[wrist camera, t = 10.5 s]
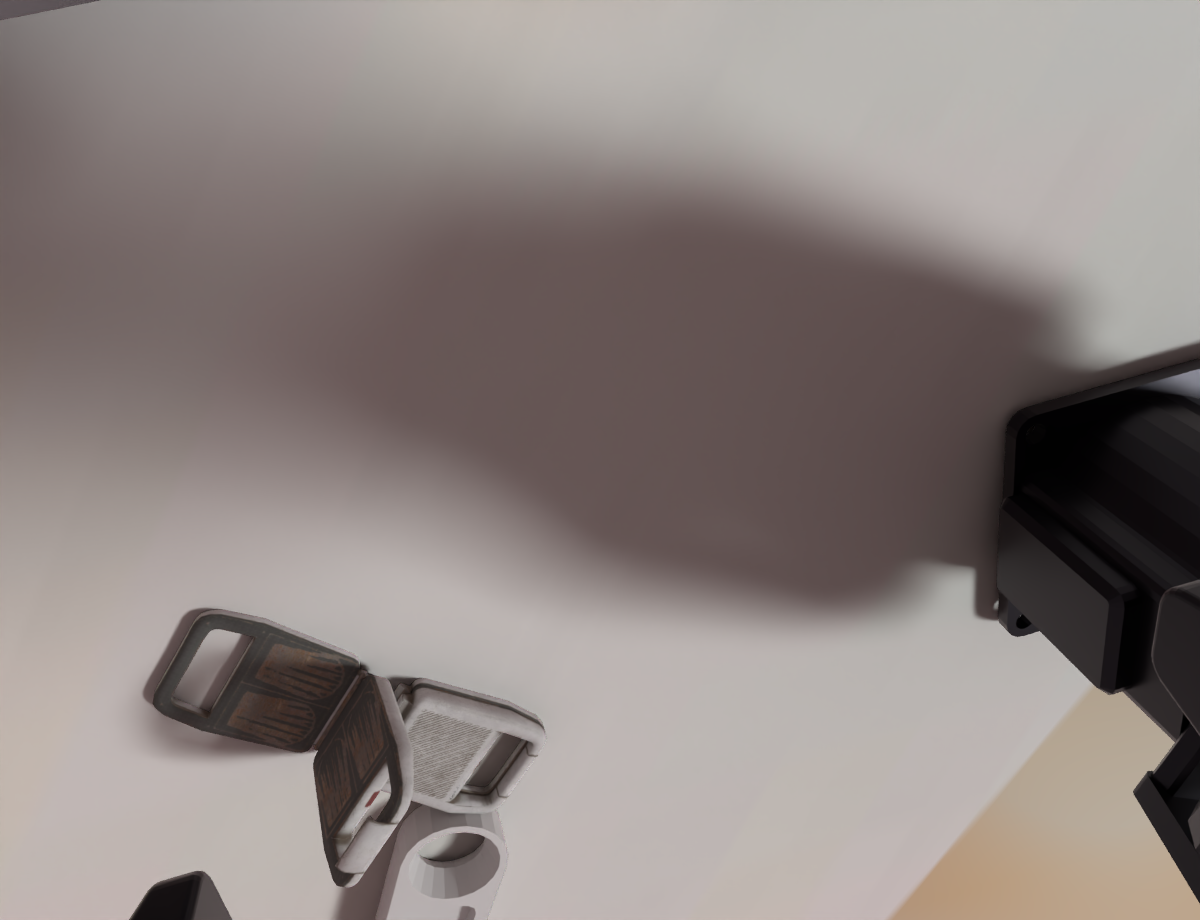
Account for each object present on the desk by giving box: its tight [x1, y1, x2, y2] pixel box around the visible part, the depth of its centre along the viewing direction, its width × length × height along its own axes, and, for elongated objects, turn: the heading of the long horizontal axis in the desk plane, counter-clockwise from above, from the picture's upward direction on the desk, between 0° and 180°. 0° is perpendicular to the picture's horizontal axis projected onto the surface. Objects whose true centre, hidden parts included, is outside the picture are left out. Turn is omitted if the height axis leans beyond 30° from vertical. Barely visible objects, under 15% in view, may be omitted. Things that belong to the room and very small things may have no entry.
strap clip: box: [153, 609, 547, 887], centre depth 22 cm, size 8×3×4 cm, turn 57°
